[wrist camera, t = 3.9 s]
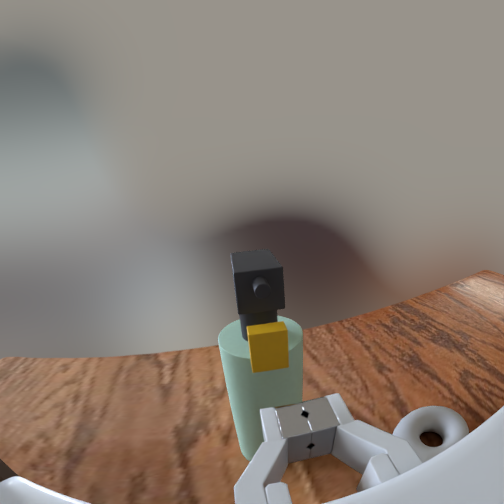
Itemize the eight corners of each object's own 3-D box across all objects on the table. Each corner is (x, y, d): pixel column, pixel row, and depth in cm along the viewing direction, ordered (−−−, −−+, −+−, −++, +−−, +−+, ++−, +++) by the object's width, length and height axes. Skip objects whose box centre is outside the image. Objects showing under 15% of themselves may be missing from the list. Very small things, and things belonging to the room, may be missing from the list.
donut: (457, 416, 22) (390, 417, 26) (467, 397, 21) (396, 399, 25) (464, 475, 13) (382, 481, 17) (478, 459, 12) (392, 467, 16)
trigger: (252, 373, 16) (248, 335, 16) (250, 362, 18) (246, 325, 17) (289, 367, 17) (287, 329, 16) (285, 357, 18) (283, 320, 17)
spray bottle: (244, 477, 21) (202, 284, 16) (238, 427, 29) (208, 252, 23) (309, 466, 22) (318, 269, 16) (293, 418, 29) (287, 243, 24)
